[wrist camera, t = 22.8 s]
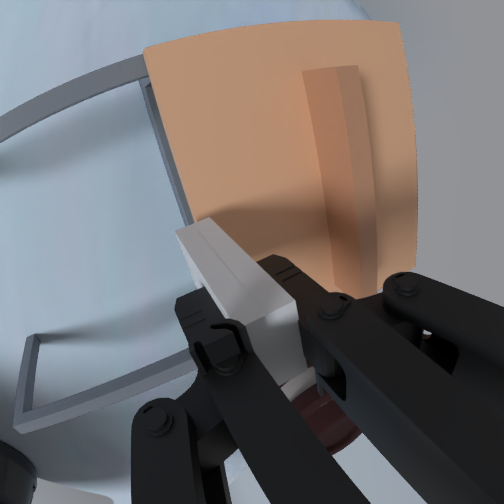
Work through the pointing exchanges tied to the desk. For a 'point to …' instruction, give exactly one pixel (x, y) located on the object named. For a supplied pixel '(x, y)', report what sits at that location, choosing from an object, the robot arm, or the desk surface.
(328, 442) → the coffee cup
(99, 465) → the desk surface
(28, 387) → the housing
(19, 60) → the desk surface
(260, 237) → the lid
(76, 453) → the desk surface
